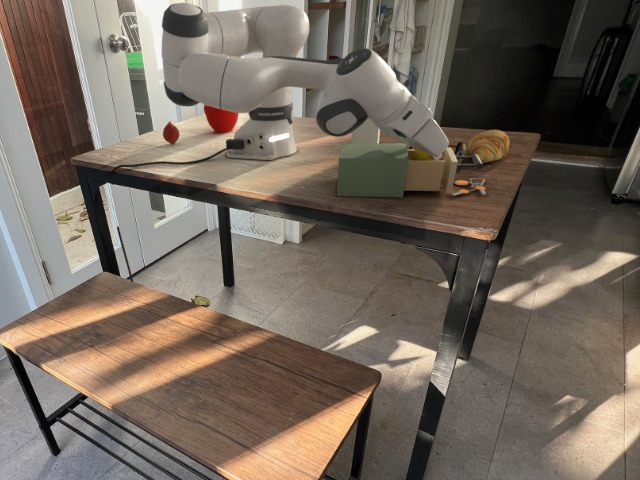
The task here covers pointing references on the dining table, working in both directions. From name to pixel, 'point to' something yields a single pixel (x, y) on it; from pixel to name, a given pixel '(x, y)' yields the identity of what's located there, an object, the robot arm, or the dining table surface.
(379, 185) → the cabinet
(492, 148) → the croissant
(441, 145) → the robot arm
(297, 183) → the dining table surface
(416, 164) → the drawer
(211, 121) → the ceramic cup
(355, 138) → the milk carton
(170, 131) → the onion
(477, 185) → the key chain
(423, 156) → the lemon
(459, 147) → the sunglasses
